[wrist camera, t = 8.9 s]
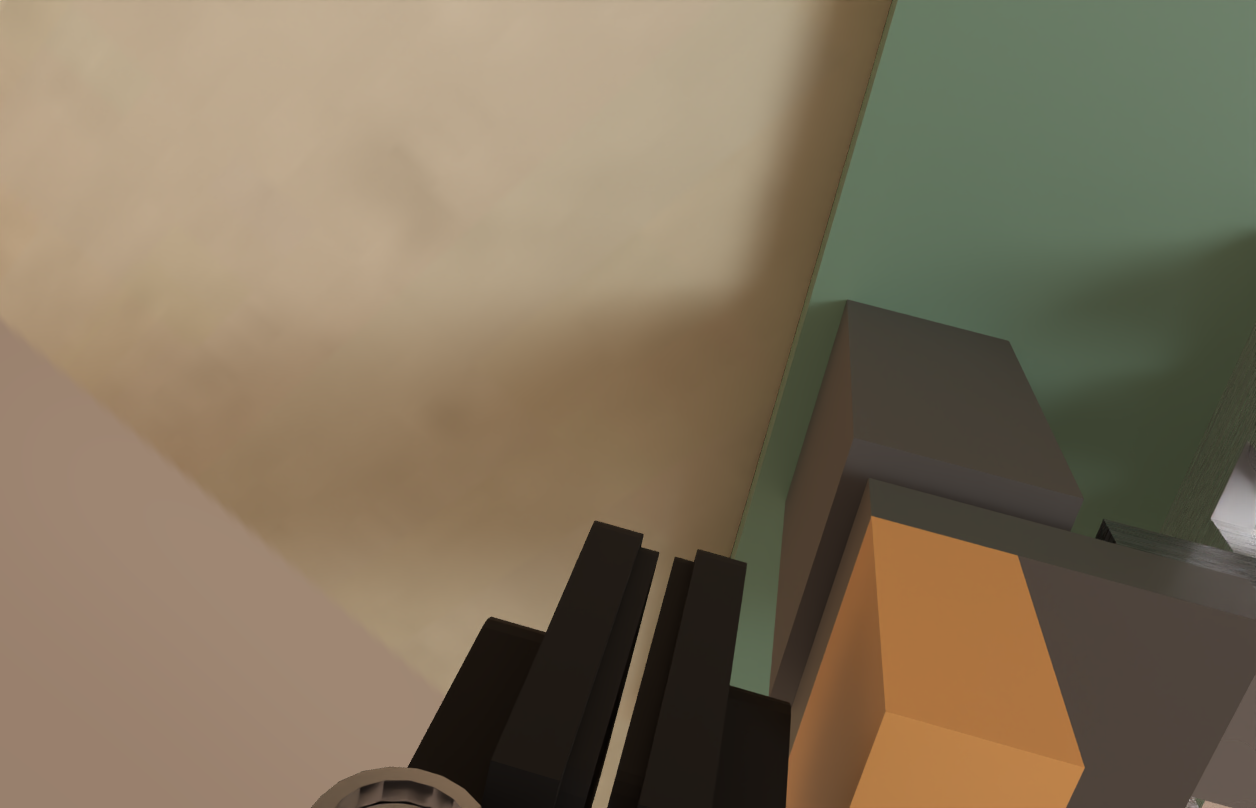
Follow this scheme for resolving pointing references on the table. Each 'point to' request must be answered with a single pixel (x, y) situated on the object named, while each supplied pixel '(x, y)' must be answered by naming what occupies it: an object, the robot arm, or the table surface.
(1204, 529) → the heat sink
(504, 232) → the table surface
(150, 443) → the table surface
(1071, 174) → the board
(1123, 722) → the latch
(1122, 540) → the strap
